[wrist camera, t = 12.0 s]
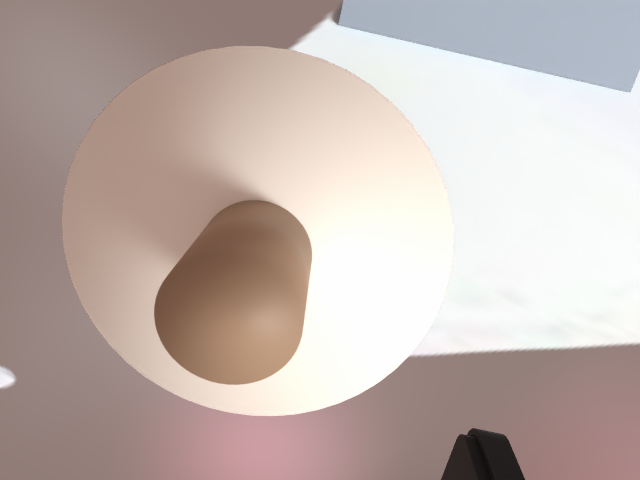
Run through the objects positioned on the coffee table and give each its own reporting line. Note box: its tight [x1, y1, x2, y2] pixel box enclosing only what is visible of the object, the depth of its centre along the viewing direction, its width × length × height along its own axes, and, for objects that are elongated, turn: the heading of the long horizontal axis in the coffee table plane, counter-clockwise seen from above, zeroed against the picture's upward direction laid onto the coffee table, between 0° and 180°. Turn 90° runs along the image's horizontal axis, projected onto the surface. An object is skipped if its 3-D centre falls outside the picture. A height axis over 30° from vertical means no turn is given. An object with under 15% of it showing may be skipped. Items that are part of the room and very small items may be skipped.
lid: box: [62, 46, 454, 416], centre depth 16 cm, size 14×14×6 cm
